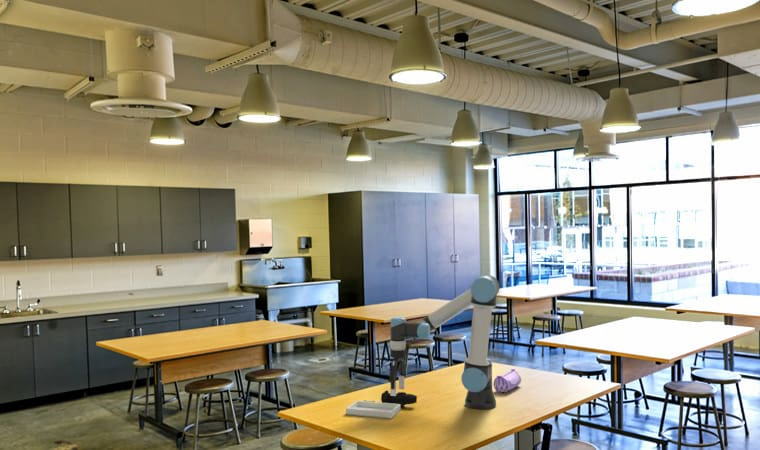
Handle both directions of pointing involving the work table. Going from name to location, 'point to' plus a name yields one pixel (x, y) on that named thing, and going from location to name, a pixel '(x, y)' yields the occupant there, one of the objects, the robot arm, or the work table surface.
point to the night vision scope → (398, 398)
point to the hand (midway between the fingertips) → (397, 392)
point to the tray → (373, 409)
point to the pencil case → (507, 381)
